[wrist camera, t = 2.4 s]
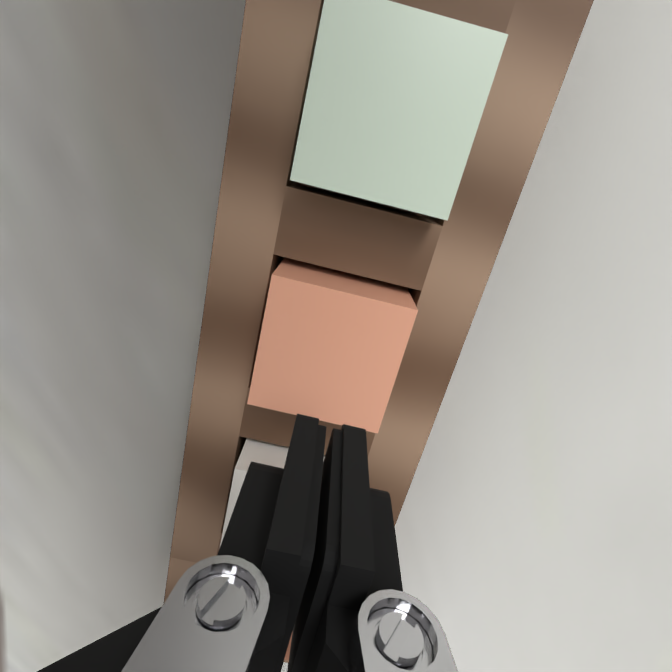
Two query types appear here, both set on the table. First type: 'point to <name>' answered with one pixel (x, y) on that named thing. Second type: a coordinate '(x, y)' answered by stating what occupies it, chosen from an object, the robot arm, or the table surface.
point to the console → (352, 244)
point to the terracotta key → (330, 344)
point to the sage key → (394, 103)
